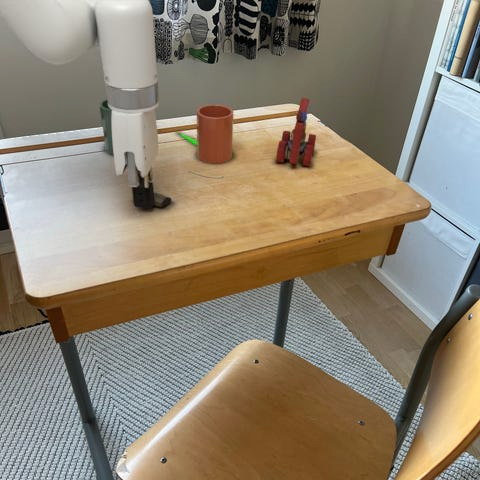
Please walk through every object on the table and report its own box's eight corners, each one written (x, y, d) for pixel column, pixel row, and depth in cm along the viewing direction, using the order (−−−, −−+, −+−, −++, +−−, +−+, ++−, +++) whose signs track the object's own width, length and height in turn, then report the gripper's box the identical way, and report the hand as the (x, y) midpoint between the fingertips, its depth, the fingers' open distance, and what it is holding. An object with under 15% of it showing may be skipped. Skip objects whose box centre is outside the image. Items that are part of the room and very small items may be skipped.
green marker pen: (179, 133, 113) (179, 130, 112) (217, 157, 105) (217, 153, 104) (176, 134, 112) (175, 130, 112) (214, 158, 105) (214, 154, 104)
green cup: (101, 154, 103) (94, 109, 97) (111, 140, 108) (105, 96, 102) (135, 157, 103) (131, 112, 97) (143, 142, 108) (139, 98, 102)
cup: (195, 162, 102) (194, 116, 96) (200, 147, 107) (199, 103, 101) (229, 164, 102) (231, 119, 96) (233, 149, 107) (234, 106, 101)
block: (161, 211, 88) (161, 202, 87) (133, 202, 90) (132, 192, 89) (173, 202, 90) (173, 193, 89) (145, 193, 92) (144, 184, 91)
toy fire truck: (273, 169, 101) (278, 116, 94) (283, 143, 110) (288, 93, 103) (308, 173, 101) (316, 121, 93) (315, 147, 110) (322, 97, 102)
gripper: (121, 75, 81) (134, 182, 93) (91, 111, 70) (110, 226, 82) (168, 79, 80) (174, 185, 93) (145, 115, 69) (156, 230, 82)
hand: (144, 204), depth 87 cm, fingers closed
